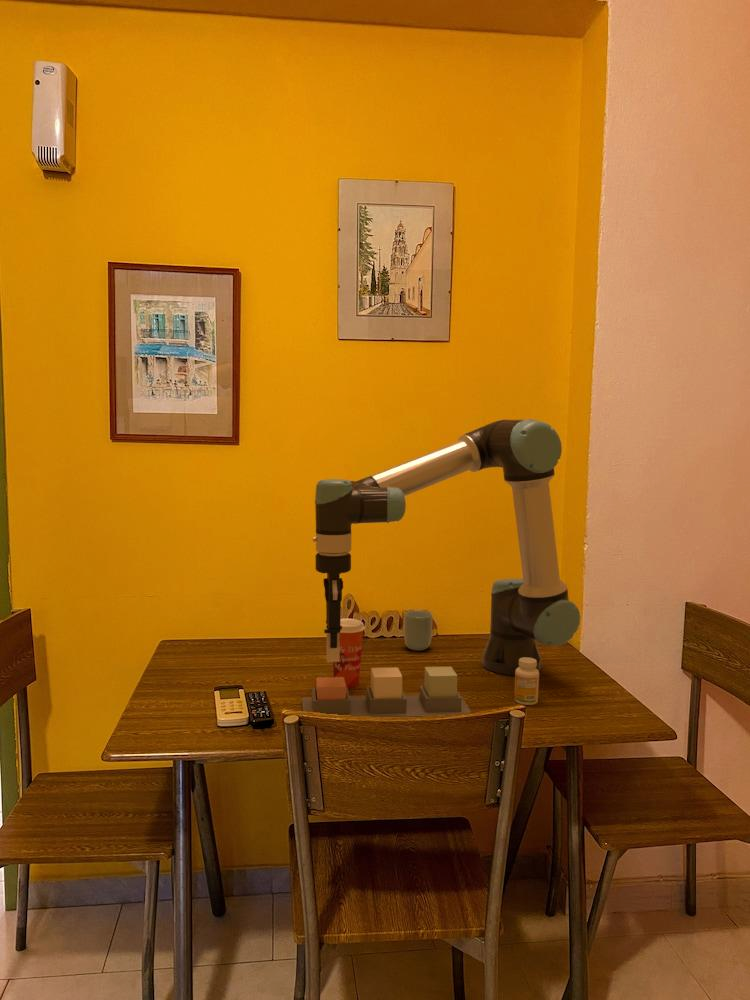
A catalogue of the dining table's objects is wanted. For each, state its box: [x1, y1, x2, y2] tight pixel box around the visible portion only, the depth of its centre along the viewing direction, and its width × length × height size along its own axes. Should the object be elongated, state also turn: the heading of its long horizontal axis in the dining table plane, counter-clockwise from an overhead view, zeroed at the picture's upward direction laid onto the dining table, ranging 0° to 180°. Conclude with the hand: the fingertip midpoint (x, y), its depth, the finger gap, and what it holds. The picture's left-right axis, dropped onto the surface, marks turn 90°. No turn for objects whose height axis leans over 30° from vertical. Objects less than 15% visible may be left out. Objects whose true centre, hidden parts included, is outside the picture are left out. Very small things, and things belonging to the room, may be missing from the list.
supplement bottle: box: [513, 657, 540, 706], centre depth 170 cm, size 5×5×10 cm
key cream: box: [370, 667, 403, 699], centre depth 162 cm, size 6×6×5 cm
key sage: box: [423, 666, 458, 697], centre depth 163 cm, size 6×6×5 cm
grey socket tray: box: [301, 685, 472, 717], centre depth 162 cm, size 36×12×4 cm, turn 97°
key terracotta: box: [315, 676, 346, 700], centre depth 160 cm, size 6×6×5 cm
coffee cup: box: [332, 617, 366, 688], centre depth 178 cm, size 8×8×15 cm
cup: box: [403, 609, 434, 652], centre depth 207 cm, size 8×8×10 cm
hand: (333, 660), depth 160 cm, fingers closed
